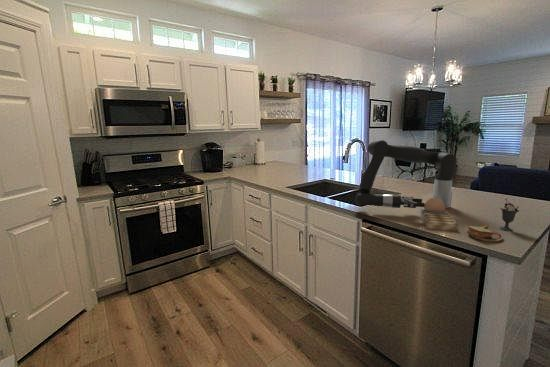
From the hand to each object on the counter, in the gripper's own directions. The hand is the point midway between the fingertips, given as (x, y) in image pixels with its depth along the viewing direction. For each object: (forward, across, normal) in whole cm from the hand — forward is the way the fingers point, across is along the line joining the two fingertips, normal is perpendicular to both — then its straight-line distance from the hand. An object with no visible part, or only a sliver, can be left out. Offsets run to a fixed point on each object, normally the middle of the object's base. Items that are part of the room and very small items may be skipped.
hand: (423, 202), depth 149 cm
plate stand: (+6, 0, +8) cm, 10 cm away
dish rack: (+6, -11, +8) cm, 15 cm away
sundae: (+35, -9, +8) cm, 37 cm away
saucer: (+6, 0, +2) cm, 6 cm away
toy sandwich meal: (+22, -22, +9) cm, 33 cm away
